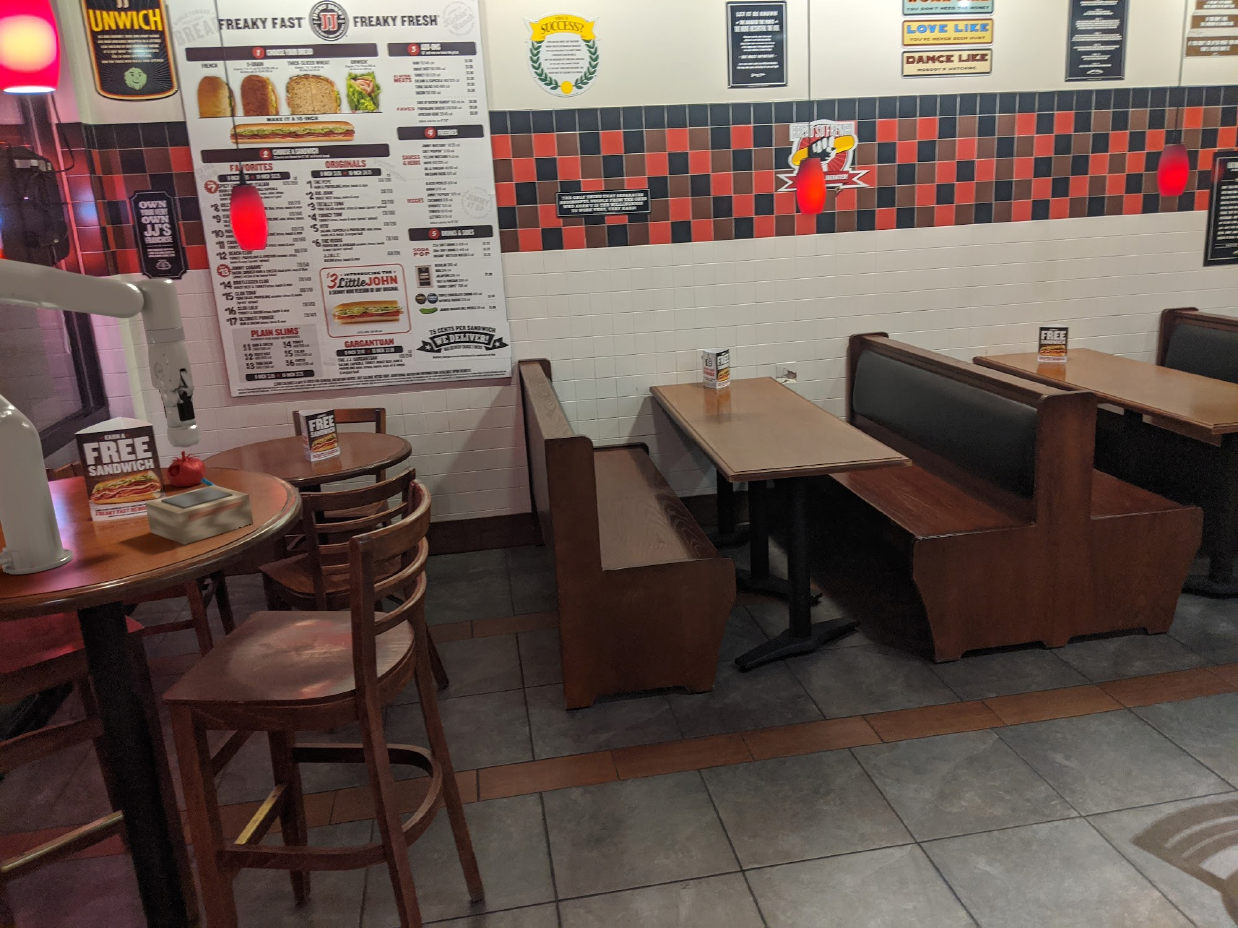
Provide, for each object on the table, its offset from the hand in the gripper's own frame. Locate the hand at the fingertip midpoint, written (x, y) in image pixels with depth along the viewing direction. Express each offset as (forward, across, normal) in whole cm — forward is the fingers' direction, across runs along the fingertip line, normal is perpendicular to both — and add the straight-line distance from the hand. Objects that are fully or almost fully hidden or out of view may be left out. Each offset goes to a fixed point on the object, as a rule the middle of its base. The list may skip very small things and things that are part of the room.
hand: (180, 418), depth 202 cm
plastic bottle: (+7, 0, 0) cm, 7 cm away
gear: (+26, -14, +13) cm, 32 cm away
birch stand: (+25, 0, 0) cm, 25 cm away
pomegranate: (+26, -42, +19) cm, 53 cm away
